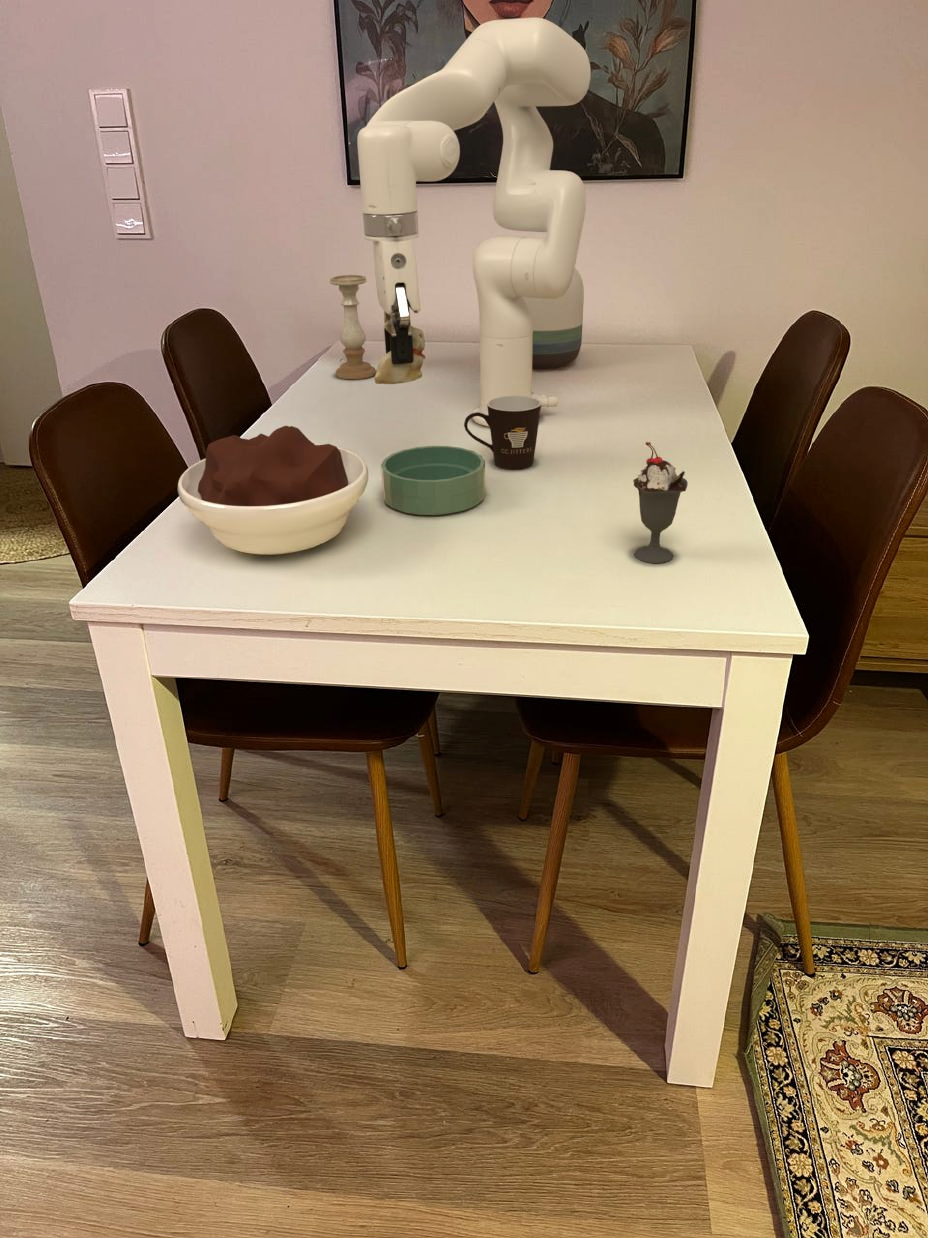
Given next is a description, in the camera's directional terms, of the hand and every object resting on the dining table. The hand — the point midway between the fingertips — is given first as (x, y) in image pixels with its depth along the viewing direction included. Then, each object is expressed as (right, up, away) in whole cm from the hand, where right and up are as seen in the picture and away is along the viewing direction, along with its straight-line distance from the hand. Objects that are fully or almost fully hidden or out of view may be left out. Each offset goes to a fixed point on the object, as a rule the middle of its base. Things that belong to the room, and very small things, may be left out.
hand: (399, 357), depth 135 cm
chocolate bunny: (0, -3, +2) cm, 3 cm away
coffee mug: (+16, -13, +14) cm, 26 cm away
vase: (+27, +18, +70) cm, 77 cm away
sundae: (+34, -31, -17) cm, 49 cm away
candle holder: (-14, +15, +65) cm, 68 cm away
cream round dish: (-15, -28, -10) cm, 33 cm away
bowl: (+5, -21, +2) cm, 21 cm away
